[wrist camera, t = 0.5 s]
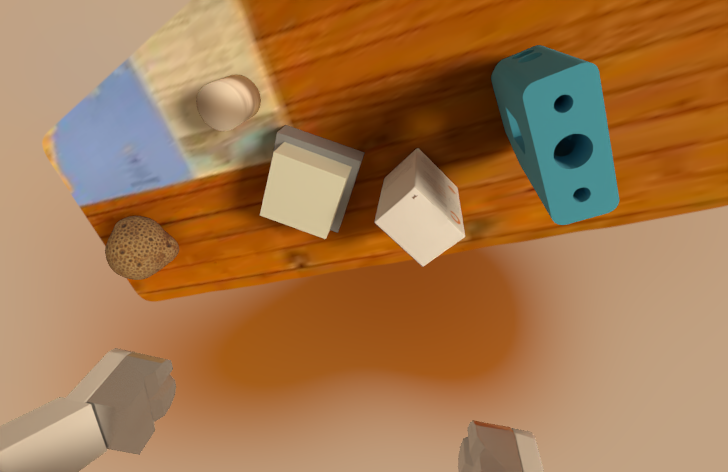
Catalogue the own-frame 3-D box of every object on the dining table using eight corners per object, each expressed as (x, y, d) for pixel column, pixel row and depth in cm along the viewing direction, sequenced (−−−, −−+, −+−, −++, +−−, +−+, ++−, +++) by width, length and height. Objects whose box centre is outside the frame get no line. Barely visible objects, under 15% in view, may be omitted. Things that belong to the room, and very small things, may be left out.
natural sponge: (122, 209, 63) (74, 241, 54) (170, 200, 61) (128, 232, 52) (149, 257, 67) (109, 293, 58) (195, 250, 65) (160, 287, 56)
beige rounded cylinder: (221, 68, 50) (198, 75, 45) (263, 83, 50) (245, 91, 45) (217, 110, 53) (194, 122, 48) (257, 124, 53) (238, 137, 48)
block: (484, 56, 45) (519, 87, 28) (530, 37, 44) (596, 57, 27) (510, 152, 50) (554, 227, 33) (552, 137, 49) (620, 209, 32)
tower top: (284, 141, 50) (273, 151, 46) (351, 166, 50) (346, 178, 47) (270, 202, 55) (259, 215, 51) (332, 224, 55) (325, 239, 52)
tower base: (286, 124, 53) (277, 132, 49) (365, 151, 53) (360, 161, 50) (272, 195, 59) (262, 207, 55) (343, 219, 59) (337, 232, 55)
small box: (383, 177, 54) (372, 222, 43) (417, 145, 51) (415, 184, 40) (423, 216, 56) (422, 268, 45) (459, 188, 54) (467, 236, 42)
